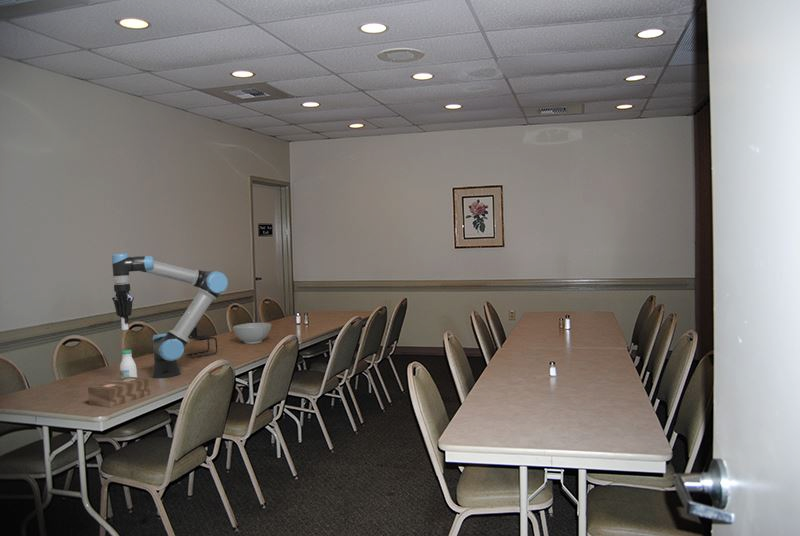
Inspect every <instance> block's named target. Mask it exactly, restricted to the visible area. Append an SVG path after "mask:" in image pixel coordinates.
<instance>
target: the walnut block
mask: <svg viewBox="0 0 800 536" xmlns="http://www.w3.org/2000/svg"><path fill="white" fill-rule="evenodd" d="M126 379H135V380H132V381H129V382H127V381H123V380H126ZM108 384H114V385H115V386H111V387H102V386H105V385H108ZM87 391H88V392H87V393H88V405H89V406H95V407H104V408H109V409H110V408H113V407H117V406H120V405H122V404H125V403H129V402H132V401H136V400H138V399H142V398H144V397H147V396H151V395H150V394H151V392H150V391H151V390H150V379H149V377H138V376H137V377H125V378H121V379H120V378H117V379H114V380H110V381H107V382H103V383H100V384H97V385H94V386H89V387H87Z"/></svg>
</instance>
